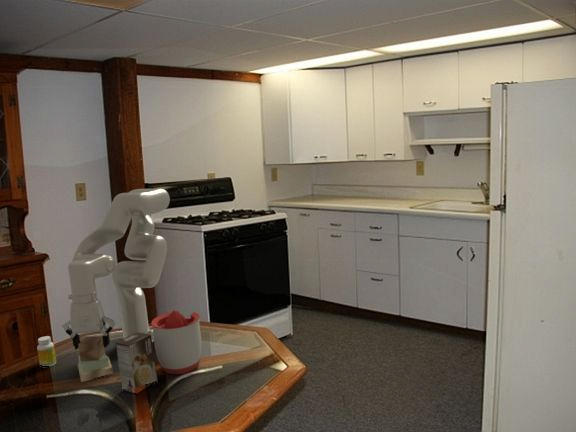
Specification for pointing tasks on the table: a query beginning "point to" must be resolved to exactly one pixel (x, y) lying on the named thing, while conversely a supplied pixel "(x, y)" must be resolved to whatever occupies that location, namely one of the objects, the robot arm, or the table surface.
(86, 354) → the walnut cube
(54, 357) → the supplement bottle
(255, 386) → the table surface
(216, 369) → the table surface
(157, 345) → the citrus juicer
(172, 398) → the table surface
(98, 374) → the birch base block
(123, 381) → the coffee box
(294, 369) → the table surface
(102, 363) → the sage top block
